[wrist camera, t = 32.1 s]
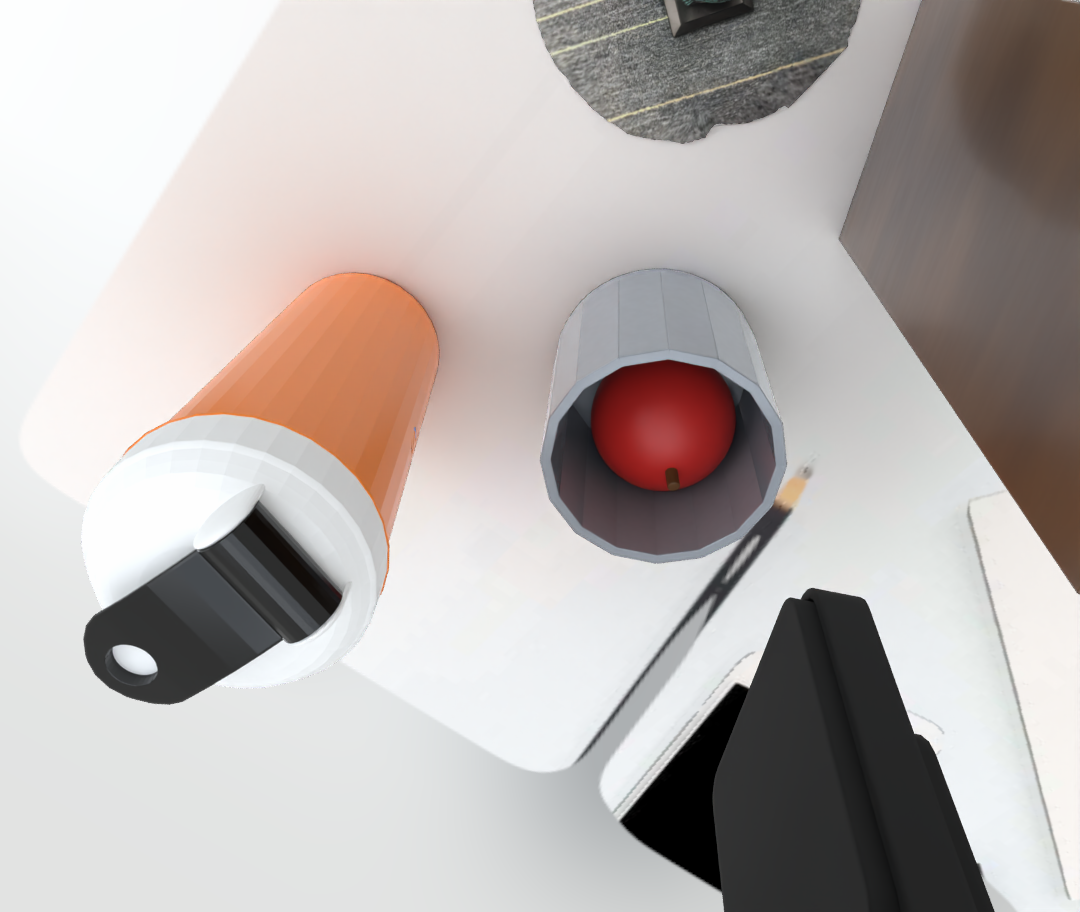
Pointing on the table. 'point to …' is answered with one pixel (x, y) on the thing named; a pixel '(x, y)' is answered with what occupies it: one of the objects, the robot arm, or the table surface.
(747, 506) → the steel cup
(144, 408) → the table surface
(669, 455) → the apple
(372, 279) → the shaker bottle
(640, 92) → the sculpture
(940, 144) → the crate
